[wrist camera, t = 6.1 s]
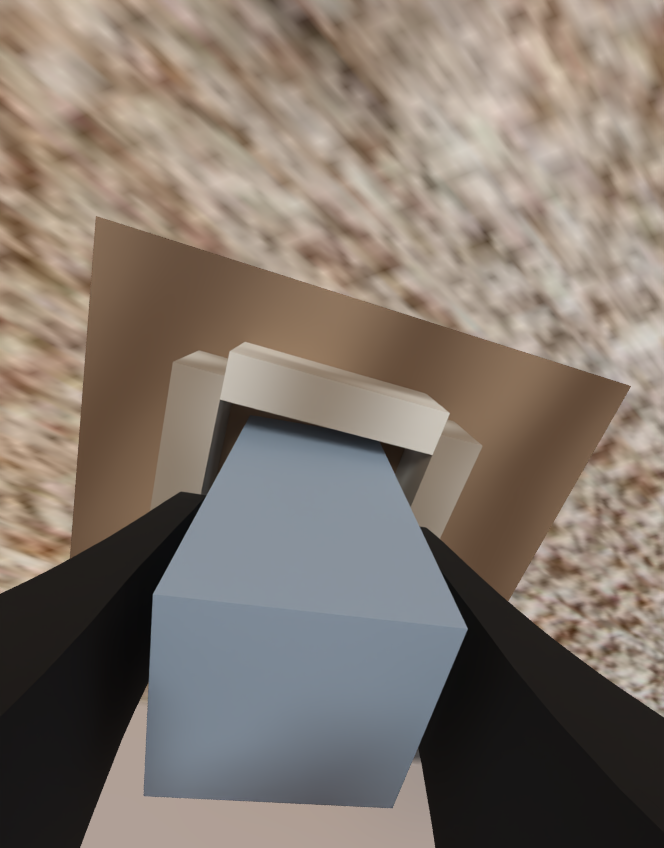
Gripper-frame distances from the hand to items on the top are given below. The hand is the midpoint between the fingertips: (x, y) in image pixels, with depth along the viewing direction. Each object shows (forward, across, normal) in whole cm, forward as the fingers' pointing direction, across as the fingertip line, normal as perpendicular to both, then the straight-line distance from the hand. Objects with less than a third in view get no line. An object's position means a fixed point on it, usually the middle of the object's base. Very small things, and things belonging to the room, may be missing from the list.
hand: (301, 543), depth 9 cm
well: (+4, 0, 0) cm, 4 cm away
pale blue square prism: (+3, 0, 0) cm, 3 cm away
